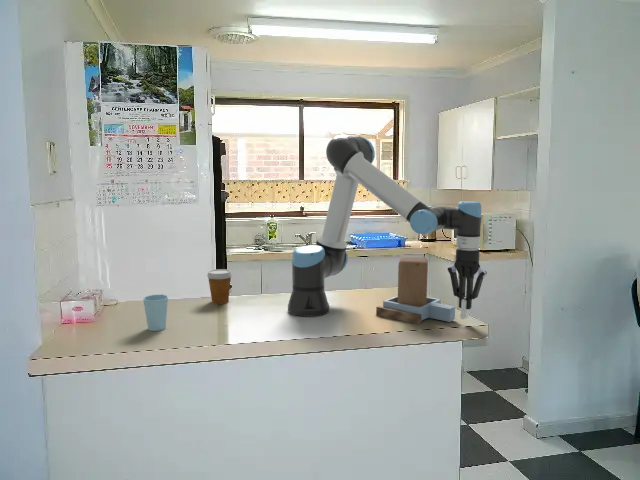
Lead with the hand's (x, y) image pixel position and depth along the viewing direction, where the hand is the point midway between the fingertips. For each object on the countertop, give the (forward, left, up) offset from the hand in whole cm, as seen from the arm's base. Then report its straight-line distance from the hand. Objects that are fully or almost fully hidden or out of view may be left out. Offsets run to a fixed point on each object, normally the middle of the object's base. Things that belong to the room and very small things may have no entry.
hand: (464, 317), depth 174 cm
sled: (-16, 0, -2) cm, 16 cm away
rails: (-20, 0, -2) cm, 21 cm away
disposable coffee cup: (-86, -33, -3) cm, 92 cm away
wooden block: (-20, 0, -3) cm, 20 cm away
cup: (-76, -68, -3) cm, 102 cm away
